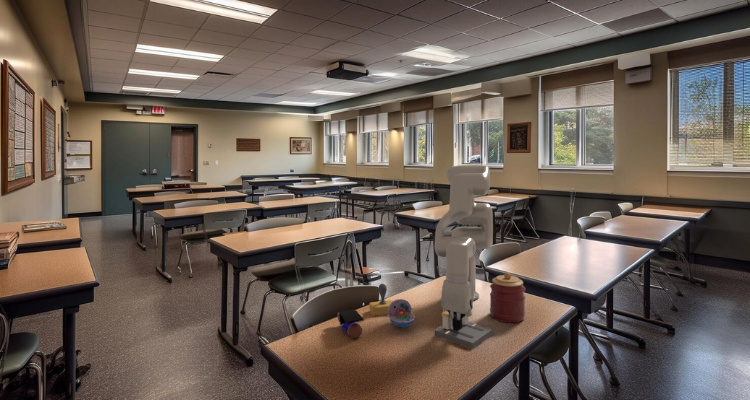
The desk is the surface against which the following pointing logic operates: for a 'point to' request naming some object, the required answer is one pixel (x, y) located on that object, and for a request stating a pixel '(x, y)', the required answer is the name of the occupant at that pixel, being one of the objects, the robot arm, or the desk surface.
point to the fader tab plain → (465, 320)
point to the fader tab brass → (446, 320)
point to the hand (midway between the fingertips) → (457, 329)
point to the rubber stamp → (380, 303)
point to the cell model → (400, 313)
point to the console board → (465, 334)
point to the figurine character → (350, 322)
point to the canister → (507, 299)
